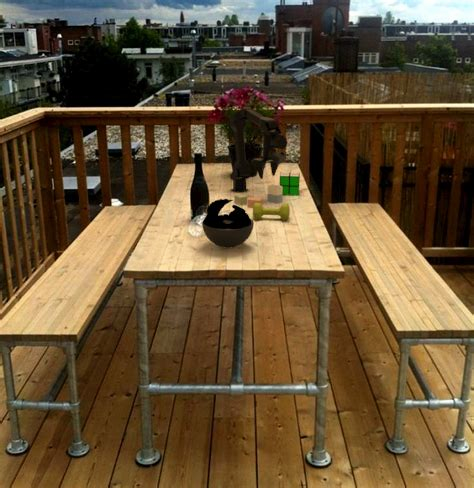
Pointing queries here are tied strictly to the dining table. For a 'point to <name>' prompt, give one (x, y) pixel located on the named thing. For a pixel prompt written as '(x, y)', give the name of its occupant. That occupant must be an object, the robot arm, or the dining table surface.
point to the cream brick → (275, 189)
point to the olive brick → (240, 199)
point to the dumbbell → (271, 211)
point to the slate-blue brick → (274, 198)
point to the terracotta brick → (253, 201)
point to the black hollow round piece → (227, 225)
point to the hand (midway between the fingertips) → (267, 177)
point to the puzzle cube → (290, 183)
